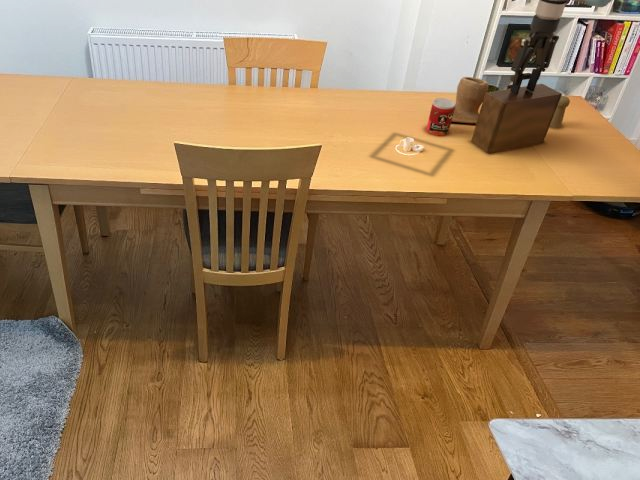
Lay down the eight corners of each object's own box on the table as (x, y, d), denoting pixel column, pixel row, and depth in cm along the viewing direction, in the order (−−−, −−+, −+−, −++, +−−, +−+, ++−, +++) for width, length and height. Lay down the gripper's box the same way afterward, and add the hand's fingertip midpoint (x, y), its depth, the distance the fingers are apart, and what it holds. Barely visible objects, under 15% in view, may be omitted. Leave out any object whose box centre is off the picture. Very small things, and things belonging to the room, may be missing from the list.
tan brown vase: (478, 114, 219) (490, 74, 209) (484, 128, 210) (496, 87, 200) (437, 111, 220) (447, 71, 210) (441, 124, 211) (452, 84, 201)
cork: (543, 128, 212) (554, 99, 205) (543, 121, 216) (553, 92, 209) (561, 131, 211) (573, 101, 203) (560, 124, 215) (571, 95, 208)
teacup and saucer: (424, 150, 196) (427, 138, 193) (416, 159, 191) (419, 148, 188) (400, 142, 199) (402, 131, 197) (391, 152, 194) (393, 140, 191)
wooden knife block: (568, 78, 187) (547, 68, 193) (509, 87, 180) (490, 77, 186) (542, 144, 202) (524, 133, 208) (487, 155, 195) (470, 143, 201)
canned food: (426, 136, 204) (434, 106, 196) (424, 126, 210) (432, 96, 202) (449, 138, 203) (457, 108, 196) (446, 128, 209) (454, 98, 202)
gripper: (561, 9, 181) (535, 83, 196) (514, 15, 175) (491, 90, 190) (580, 17, 176) (552, 92, 191) (532, 22, 169) (507, 99, 185)
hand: (521, 91), depth 190 cm, fingers closed on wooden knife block, 6 cm apart
